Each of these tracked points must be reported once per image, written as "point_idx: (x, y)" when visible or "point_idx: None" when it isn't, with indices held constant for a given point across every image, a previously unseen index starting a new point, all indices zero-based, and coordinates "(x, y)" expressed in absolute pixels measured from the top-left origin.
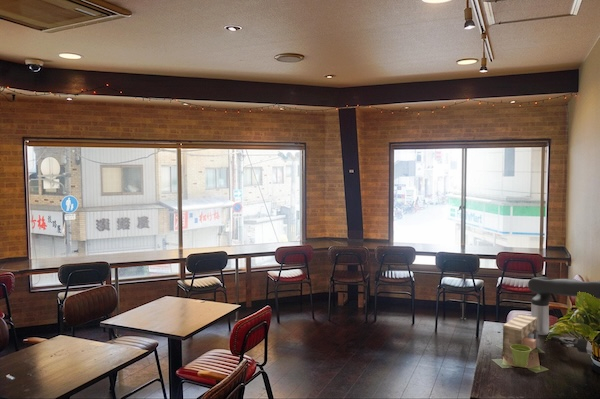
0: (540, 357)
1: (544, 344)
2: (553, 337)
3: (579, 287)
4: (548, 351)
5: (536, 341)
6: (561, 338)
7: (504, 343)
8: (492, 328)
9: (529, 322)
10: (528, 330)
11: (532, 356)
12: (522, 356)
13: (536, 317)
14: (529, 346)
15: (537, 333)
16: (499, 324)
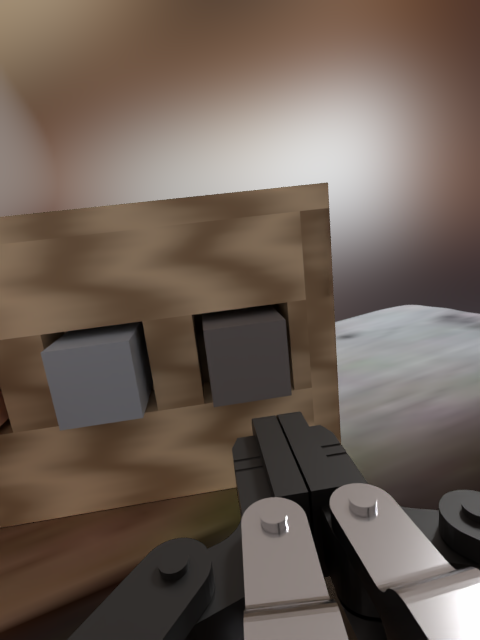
0: (51, 625)
1: (467, 474)
2: (256, 437)
3: None
4: (332, 583)
5: (332, 425)
6: (288, 535)
7: None
8: (360, 322)
9: (89, 208)
10: (53, 291)
11: (49, 558)
12: None
13: (323, 184)
14: None
15: (261, 346)
16: (432, 313)
